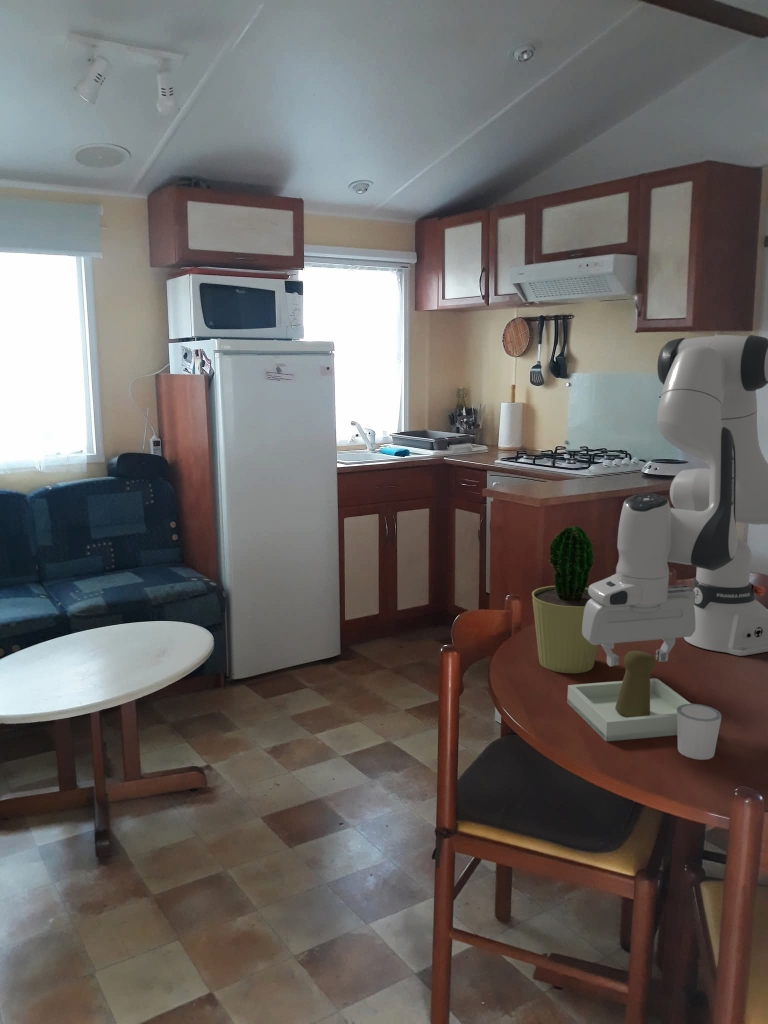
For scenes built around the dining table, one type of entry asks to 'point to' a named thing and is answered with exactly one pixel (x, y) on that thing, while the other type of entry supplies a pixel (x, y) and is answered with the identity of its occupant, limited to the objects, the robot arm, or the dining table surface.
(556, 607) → the potted cactus
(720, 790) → the dining table surface
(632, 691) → the olive brown pawn
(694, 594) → the robot arm
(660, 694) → the tray
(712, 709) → the white cup
